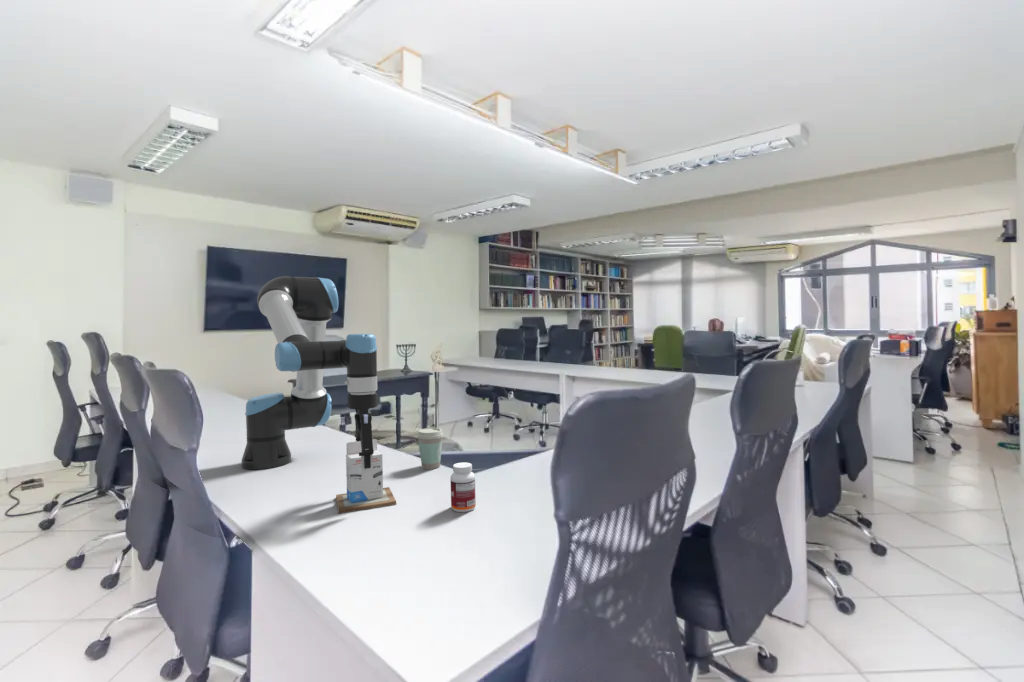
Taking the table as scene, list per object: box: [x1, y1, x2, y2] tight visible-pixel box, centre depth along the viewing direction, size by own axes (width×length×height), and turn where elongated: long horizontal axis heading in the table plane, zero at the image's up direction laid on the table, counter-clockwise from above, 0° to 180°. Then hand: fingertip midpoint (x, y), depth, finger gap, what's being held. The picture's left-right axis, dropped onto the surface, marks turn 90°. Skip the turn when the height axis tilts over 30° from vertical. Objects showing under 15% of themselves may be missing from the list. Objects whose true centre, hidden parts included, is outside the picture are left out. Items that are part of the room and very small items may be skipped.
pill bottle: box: [450, 462, 477, 513], centre depth 120 cm, size 6×6×11 cm
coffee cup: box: [416, 427, 444, 470], centre depth 156 cm, size 8×9×12 cm
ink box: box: [345, 438, 384, 503], centre depth 126 cm, size 8×5×15 cm, turn 121°
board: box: [335, 486, 397, 514], centre depth 126 cm, size 12×14×1 cm
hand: (364, 472), depth 126 cm, fingers open, 13 cm apart
